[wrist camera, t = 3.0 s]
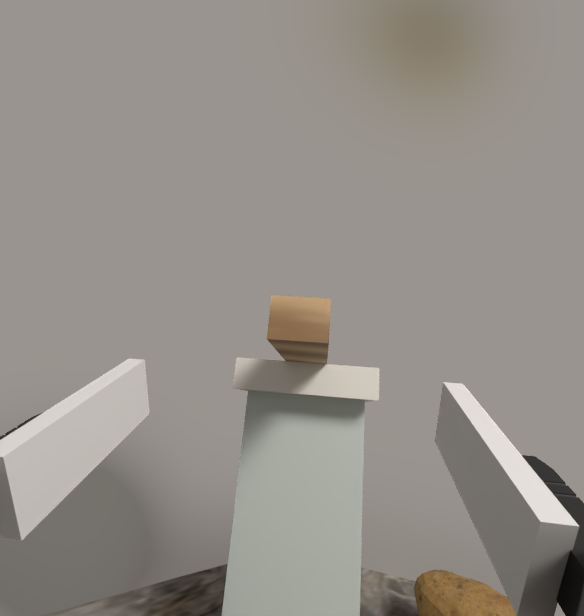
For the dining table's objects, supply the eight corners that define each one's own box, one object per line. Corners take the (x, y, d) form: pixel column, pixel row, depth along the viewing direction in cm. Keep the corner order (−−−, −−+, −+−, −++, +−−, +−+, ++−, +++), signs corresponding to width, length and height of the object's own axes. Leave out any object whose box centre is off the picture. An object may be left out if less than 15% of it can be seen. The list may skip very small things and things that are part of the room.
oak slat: (328, 343, 21) (331, 298, 22) (266, 339, 21) (271, 295, 22) (325, 378, 50) (326, 358, 50) (299, 376, 50) (300, 356, 51)
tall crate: (374, 797, 23) (379, 368, 31) (184, 755, 25) (236, 357, 33) (351, 618, 42) (358, 381, 50) (245, 602, 44) (268, 374, 52)
